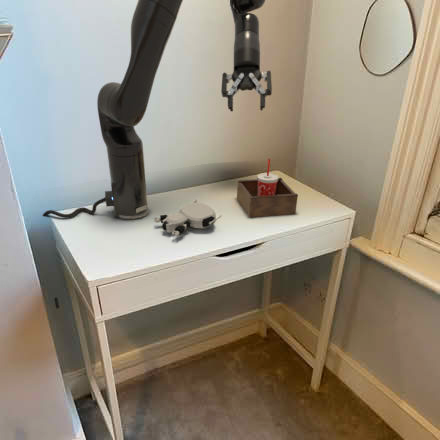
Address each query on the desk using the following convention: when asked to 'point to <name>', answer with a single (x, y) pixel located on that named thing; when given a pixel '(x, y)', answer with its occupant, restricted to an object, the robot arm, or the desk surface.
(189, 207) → the robot toy
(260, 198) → the crate
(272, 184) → the beverage cup
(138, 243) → the desk surface
